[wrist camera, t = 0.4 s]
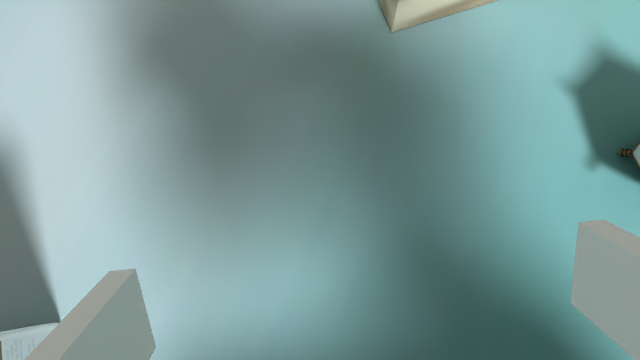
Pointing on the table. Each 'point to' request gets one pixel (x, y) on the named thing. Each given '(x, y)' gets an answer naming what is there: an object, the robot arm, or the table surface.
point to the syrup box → (23, 341)
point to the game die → (632, 153)
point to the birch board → (422, 10)
